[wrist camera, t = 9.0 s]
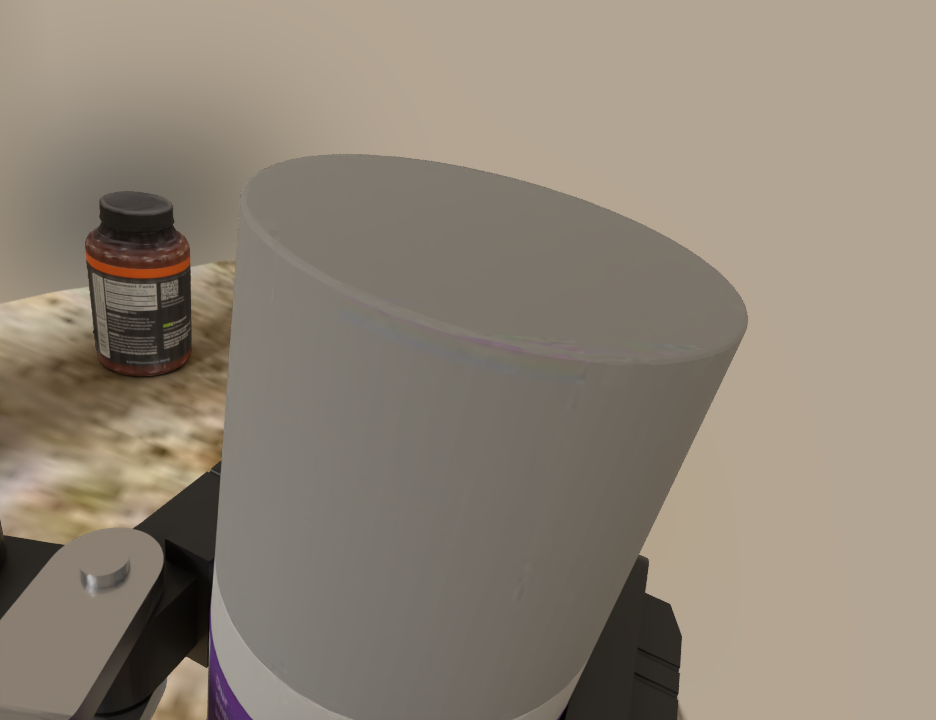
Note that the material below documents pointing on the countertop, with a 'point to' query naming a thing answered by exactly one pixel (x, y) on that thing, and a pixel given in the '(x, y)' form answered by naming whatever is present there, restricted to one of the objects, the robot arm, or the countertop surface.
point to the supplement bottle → (139, 285)
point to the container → (443, 437)
